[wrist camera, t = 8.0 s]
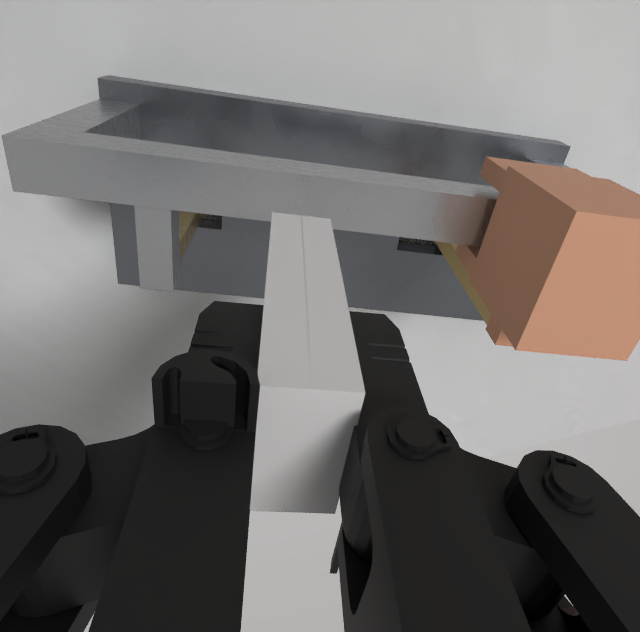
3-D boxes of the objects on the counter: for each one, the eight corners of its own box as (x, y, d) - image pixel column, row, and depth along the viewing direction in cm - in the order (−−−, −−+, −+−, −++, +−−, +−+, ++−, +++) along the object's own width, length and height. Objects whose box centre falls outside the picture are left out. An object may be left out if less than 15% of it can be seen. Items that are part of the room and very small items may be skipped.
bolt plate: (125, 273, 31) (118, 283, 30) (107, 75, 25) (97, 77, 24) (492, 311, 34) (499, 322, 33) (558, 140, 28) (570, 146, 27)
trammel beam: (116, 200, 28) (31, 280, 19) (107, 96, 25) (1, 135, 16) (520, 248, 31) (609, 338, 22) (554, 159, 28) (674, 222, 19)
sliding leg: (410, 240, 29) (493, 399, 17) (441, 120, 25) (576, 211, 13) (472, 247, 29) (597, 408, 17) (511, 130, 26) (706, 228, 13)
